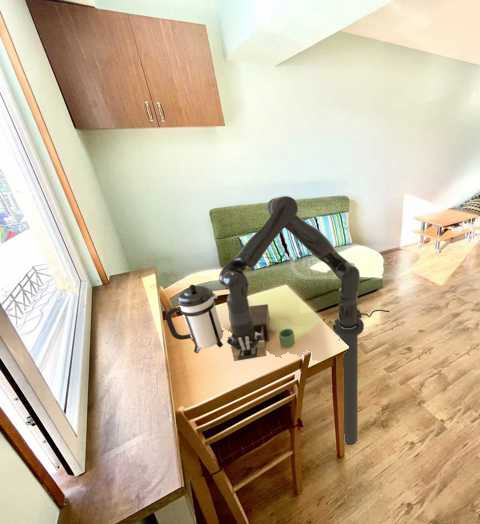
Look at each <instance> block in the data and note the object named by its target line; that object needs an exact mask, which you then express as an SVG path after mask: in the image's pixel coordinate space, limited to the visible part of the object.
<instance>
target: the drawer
mask: <svg viewBox="0 0 480 524" xmlns="http://www.w3.org/2000/svg"><path fill="white" fill-rule="evenodd" d="M253 328H254V329H255V331H256V332H257V333H259V332H261V333H262V334H261V339H260V340H259V341H258V343H257V344H256V346H255V347H254V348H251V351H252V353H251V354H250V355H244V354H243V350H242V349H240V350H237V349H236V348H234V347H233V346H231V345H230V349H231V354H232V358H233V362H238V361H244V360H250V359H251V360H252V359H257V358H258V359H259V358H262V357H263V358H264V357H267V349H266V341H265V338H266V331H265V326H258V327H253ZM254 339H255V335H254V337H253V338H252V340H251V341H250V343H252V341H253V340H254ZM237 342H238V341H237ZM239 343H240V342H239ZM245 343H246V342H245Z"/></svg>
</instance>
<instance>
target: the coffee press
mask: <svg viewBox="0 0 480 524" xmlns="http://www.w3.org/2000/svg"><path fill="white" fill-rule="evenodd" d="M215 299H218V296H217V295H216V293H214V292H213V290H212V289H211V288H209V286H206V285H200V284H198V285H195V284H190V285H189V287H186V288H185V289H184V290H182V291H181V292H180V293H179V294H178V296H177V299H176V302H177V304H178V305H179V306H176V307H173V308H170V309H168V310H167V311H166V313H165V321H166V324H167V326H168V327H167V328H168V329H169V332H170V334H171V336H172V338H174V339H176V340H180V341H181V340H182V341H183V340H188V339H190V340H191V342H192V343H193V345H194V349H193V353H195V354H199V353H200V351H201V349H207V348H211V347H214V346H215V345H216V346H217V347H218V348H222V347H223V346H224V344H223V342H222V341H221V340H222V339H223V336H224V330H223V328H222V326H221V321H220V319H219V314H218V311H217V307H216V301H215ZM177 312H181V314H182V316H183V318H184V321H185V324H186V327H187V329H188V334H183V335H182V334H179V333H178V332H177V329H176V326H175V325H174V322H173V319H172V315H173V314H175V313H177Z"/></svg>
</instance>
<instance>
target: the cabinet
mask: <svg viewBox="0 0 480 524" xmlns="http://www.w3.org/2000/svg"><path fill="white" fill-rule="evenodd" d="M249 308H250V311H251V316H252V322H253V327H258V326H265V331H266V338H265V342H270V320H271V319H270V318H271V317H270V309H269V304H268V303H266V304H258V305H249Z"/></svg>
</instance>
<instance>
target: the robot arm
mask: <svg viewBox="0 0 480 524" xmlns="http://www.w3.org/2000/svg"><path fill="white" fill-rule="evenodd" d="M266 209H267V213H268V216H269V218H268V219H267V221H266V222H265V223H264V225H263V226H261V228H260V229H258V230H257V231H256V232H255V233H254V234H253V235H252V236H251V237H250V238H249V239H248V240H247V242H246V243H245V244H244V245H243V247H242V248H241V249H240V251H239V253H238V254H237V255H236V256H235V257H234V258H232V259H230V261H229V262H228V263H227V264H225V265H224V267H222V269H221V271H220V272H219V275H218V281H219V283H220V284H221V285H222V286H223V287H225V288H227V289H228V290H229V294H228V295H227V297H226V306H227V309H228V320H229V323H230V328H231V335H230V336H228V337H227V340H226V343H227V344H228V345H229V346H230V347H231V346H233V347H234V348H236V349H237V350H240V349H242V350H243V354H244V355H250V354H251V353H252V351H251V348H254V347H255V346H256V344H257V343H258V341H259V340H260V339H261V334H262V333H261V332H259V333H257V332H256V331H255V329H254V328H253V322H252V316H251V311H250V308H249V306H250V304H249V303H250V302H249V298H248V295H249V278H248V276H247V274H246V273H244V272H245V271H246V270H247V269H254V268H255V267H256V265H257V264H258V263H259V261H260V260H261V258H262V257H263V256H264V254H265V252H266V251H267V250H268V248H269V247H270V246H271V244H272V243H273V242H274V241H275V239H276V238H277V237H278V236H279V234H280V233H282V231H283V230H284V229H285V230H287V232H289V233H290V234H292V236H293V237H294V238H295V239H296V240H297V241H298V242H299V243H300V244H301V245H303V247H304V248H305V249H306V250H307V251H308V252H309V253H311V254H312V255H313V256H314V257H315V258H316V259H318V260H319V261H321V262H323V264H326V266H327V267H328V268H330V270H331V271H332V272H333V274H334V275H335V276H336V278H337V279H338V280H339V281H340V287H339V288H338V291H337V296H338V297H337V299H338V300H337V301H338V302H337V303H338V317H337V319H339V327H340V328H341V329H344V330H353V329H355V328H356V327H359V319H362V316H366V317H367V318H371V317H372V315H373V314H374V313H375V312H385V313H390V310H385V309H374V310H373V311H371V312H370V314H368V313H365V312H364V313H363V312H361V310H360V309H359V308H358V295H359V294H358V293H359V290H360V279H361V277H360V276H361V275H360V269H358V268H357V266H356V265H354V264H352V263H351V262H350V261H348V260H347V259H346V258H344V257H343V256H342V255H341V254H339V252H338V251H337V250H336V248H335V247H334V245H333V243H332V242H331V241H330V240H329V238H328V237H326V235H324V233H323V232H322V231H320V230H319V229H318V228H316V227H315V226H313V225H312V224H310V223H309V222H306V221H305V220H303V219H302V218H301V217H300V216H299V215H298V212H299V205H298V202H297V200H296V199H295V198H293V197H291V196H289V195H280V196H275V197H273V198H271V199H270V200H269V201H268V202H267V206H266ZM254 335H255V339H254V340H253V341H252V343H250V341H251V340H252V338H253V337H254ZM237 341H238V342H237ZM239 342H240V343H239ZM245 342H246V343H245Z"/></svg>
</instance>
